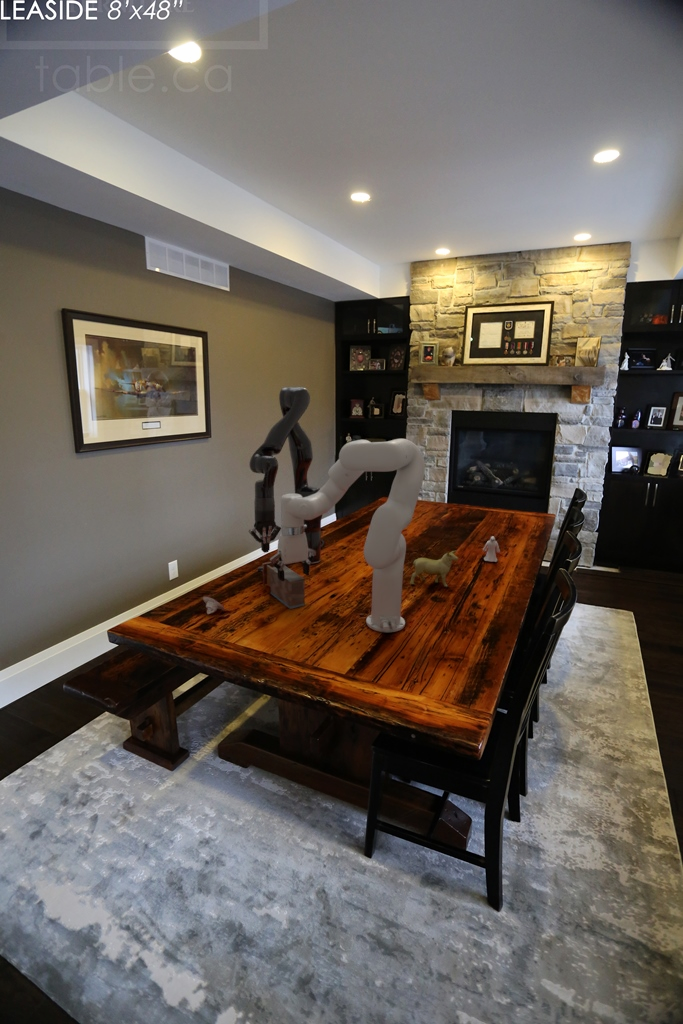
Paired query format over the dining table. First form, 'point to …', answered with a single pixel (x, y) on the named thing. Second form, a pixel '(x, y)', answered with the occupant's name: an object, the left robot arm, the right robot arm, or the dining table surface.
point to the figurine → (491, 550)
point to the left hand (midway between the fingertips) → (265, 551)
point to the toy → (434, 567)
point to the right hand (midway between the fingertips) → (293, 577)
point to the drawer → (266, 573)
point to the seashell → (212, 605)
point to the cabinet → (288, 588)
